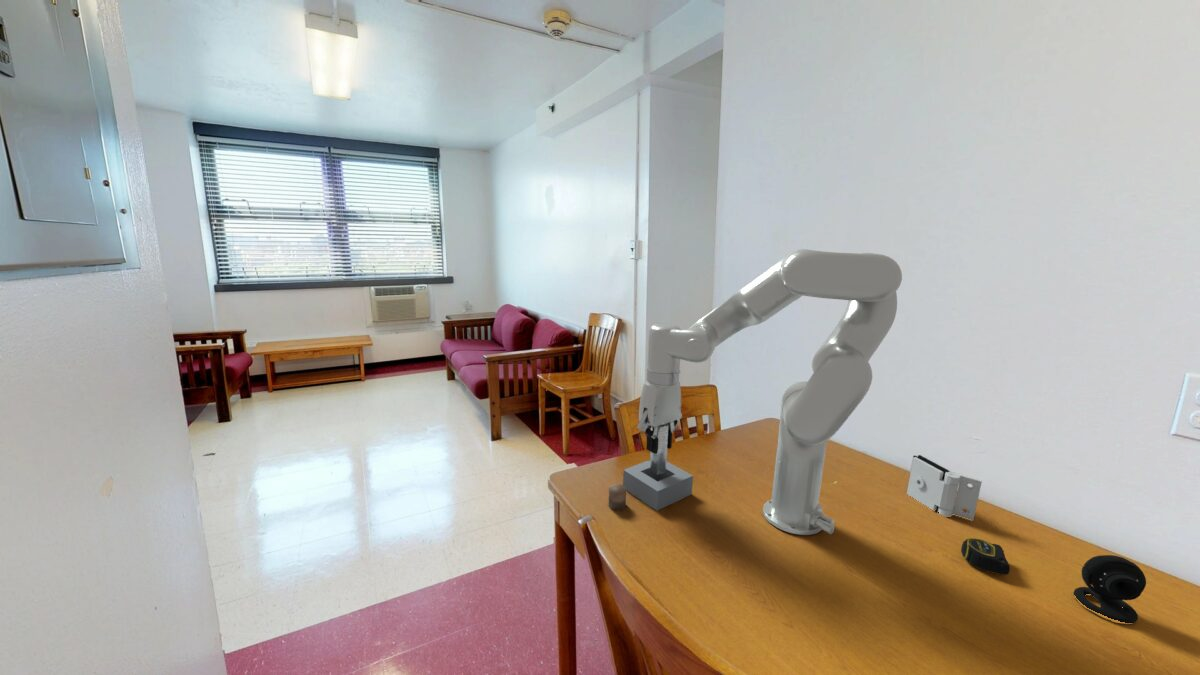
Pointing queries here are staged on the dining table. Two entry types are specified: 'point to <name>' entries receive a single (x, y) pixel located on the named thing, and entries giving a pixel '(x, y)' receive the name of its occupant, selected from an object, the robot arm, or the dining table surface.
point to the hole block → (657, 484)
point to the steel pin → (660, 451)
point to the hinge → (942, 488)
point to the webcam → (1112, 586)
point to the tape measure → (985, 556)
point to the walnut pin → (617, 497)
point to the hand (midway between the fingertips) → (658, 448)
